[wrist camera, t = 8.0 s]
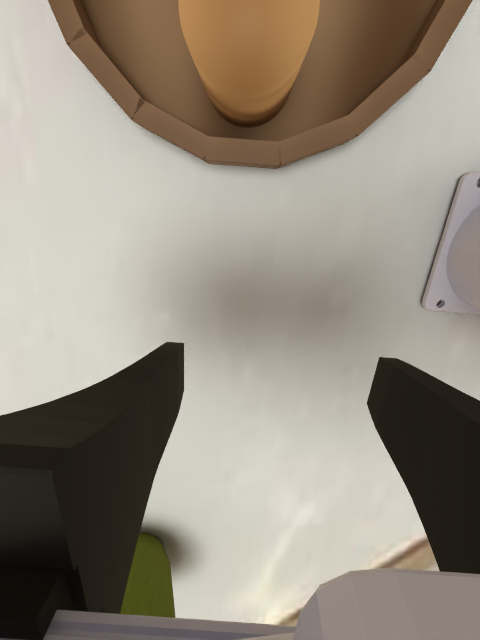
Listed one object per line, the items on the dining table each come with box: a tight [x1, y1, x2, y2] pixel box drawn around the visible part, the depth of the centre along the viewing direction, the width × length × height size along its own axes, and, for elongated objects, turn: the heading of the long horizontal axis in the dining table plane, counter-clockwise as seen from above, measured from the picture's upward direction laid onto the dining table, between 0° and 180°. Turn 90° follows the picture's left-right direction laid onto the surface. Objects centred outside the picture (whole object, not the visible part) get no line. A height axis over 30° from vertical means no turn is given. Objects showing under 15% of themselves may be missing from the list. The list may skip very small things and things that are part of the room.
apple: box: [120, 533, 175, 618], centre depth 25 cm, size 9×8×12 cm
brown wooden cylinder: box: [178, 0, 320, 128], centre depth 12 cm, size 4×4×6 cm
